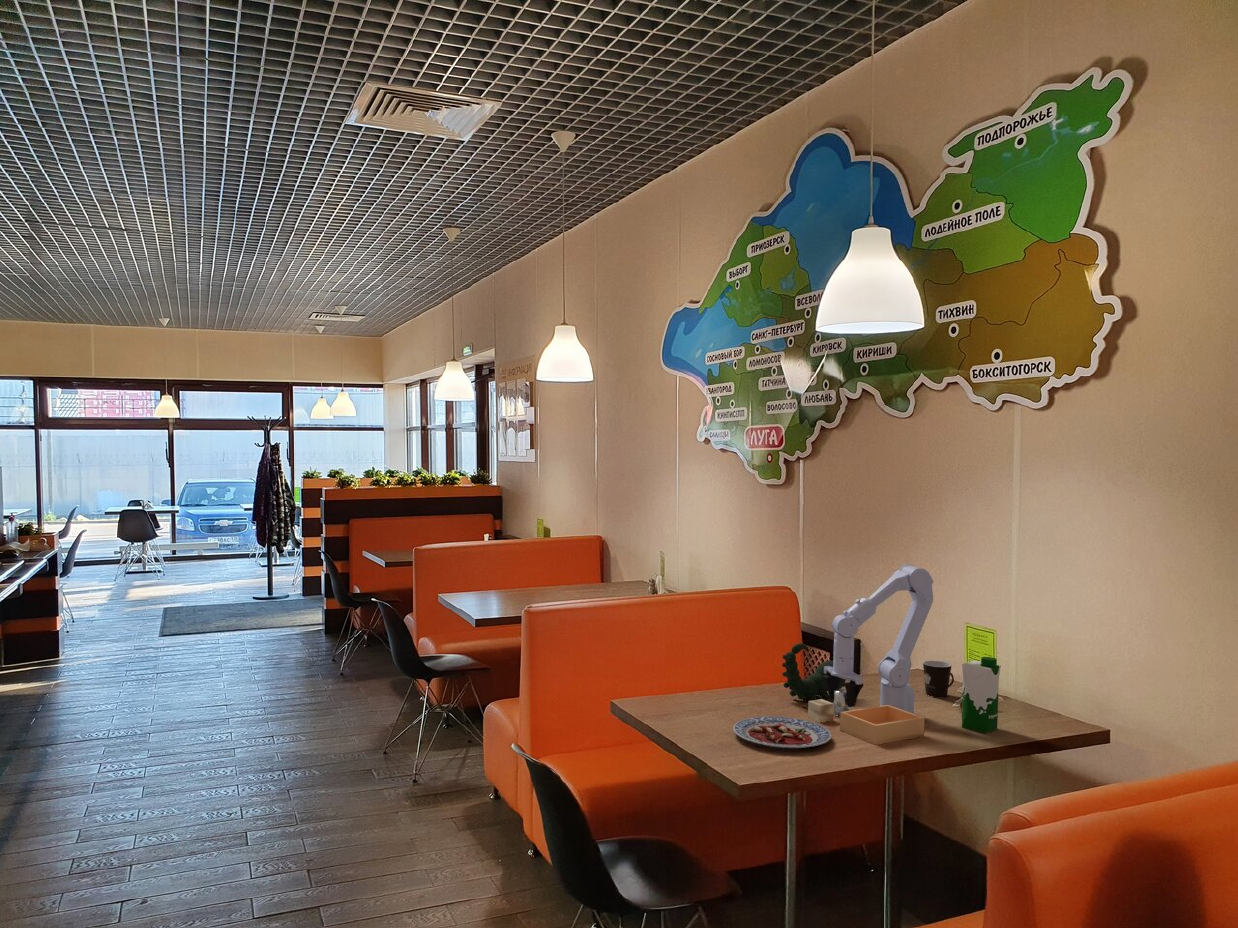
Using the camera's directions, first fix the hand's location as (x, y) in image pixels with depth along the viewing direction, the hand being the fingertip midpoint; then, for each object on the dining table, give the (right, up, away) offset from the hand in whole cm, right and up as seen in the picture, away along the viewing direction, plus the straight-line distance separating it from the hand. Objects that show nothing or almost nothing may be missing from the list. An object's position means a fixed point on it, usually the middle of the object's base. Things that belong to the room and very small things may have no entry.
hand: (842, 703), depth 265 cm
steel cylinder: (0, -3, 0) cm, 3 cm away
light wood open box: (+7, -4, -17) cm, 18 cm away
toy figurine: (-3, -3, +18) cm, 18 cm away
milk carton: (+36, -5, -10) cm, 38 cm away
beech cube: (-7, -3, -5) cm, 10 cm away
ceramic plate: (-22, -4, -23) cm, 32 cm away
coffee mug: (+36, -4, +22) cm, 42 cm away
